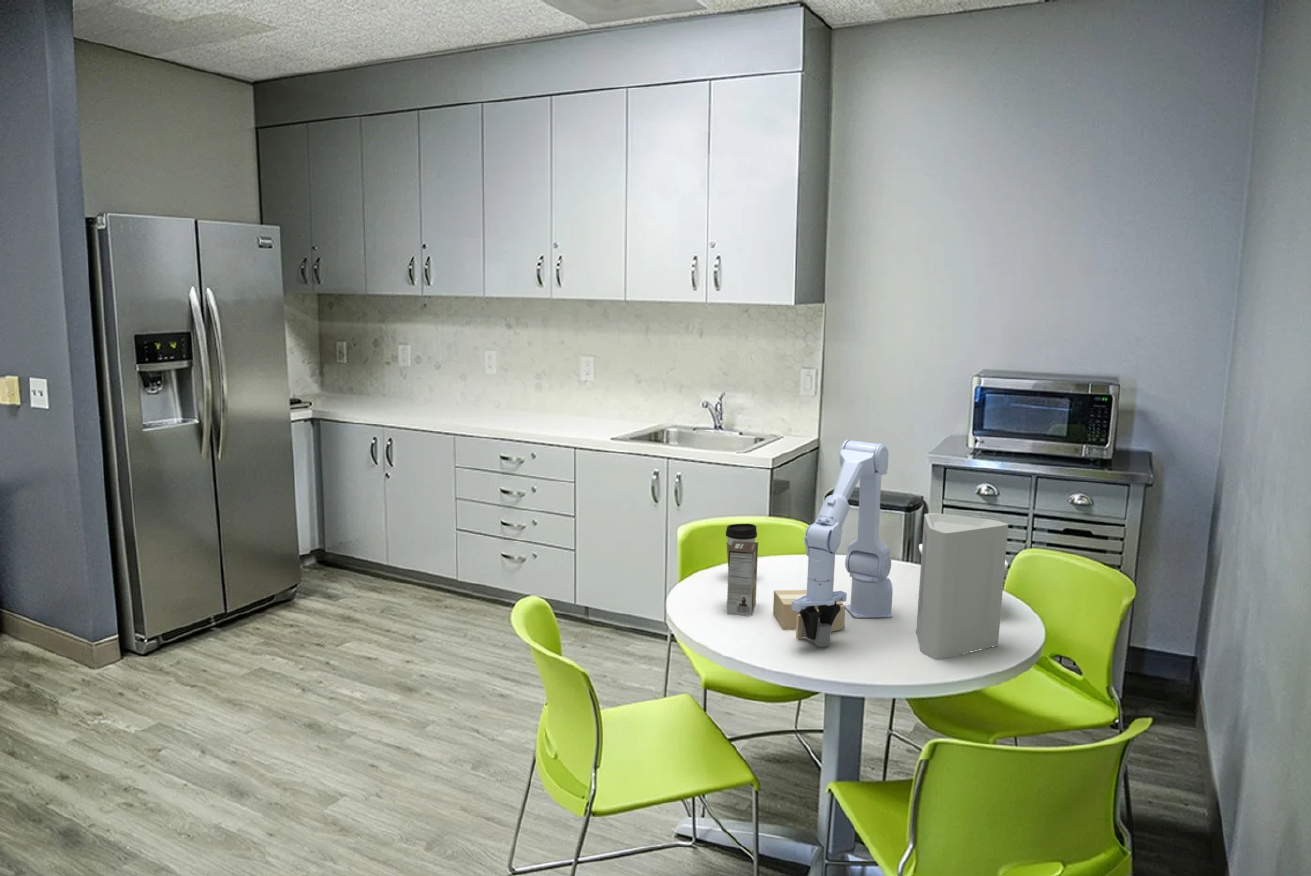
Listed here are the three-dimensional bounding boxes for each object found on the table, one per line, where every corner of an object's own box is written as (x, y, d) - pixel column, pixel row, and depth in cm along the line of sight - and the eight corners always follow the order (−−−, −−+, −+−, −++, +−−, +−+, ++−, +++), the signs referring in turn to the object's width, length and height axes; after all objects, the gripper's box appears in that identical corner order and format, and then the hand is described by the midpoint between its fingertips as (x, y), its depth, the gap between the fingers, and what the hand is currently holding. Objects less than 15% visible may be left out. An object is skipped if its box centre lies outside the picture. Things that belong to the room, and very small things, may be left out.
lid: (842, 627, 216) (843, 604, 215) (864, 637, 210) (866, 614, 209) (795, 638, 209) (796, 614, 208) (817, 649, 202) (818, 625, 201)
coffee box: (730, 601, 233) (732, 539, 230) (756, 604, 232) (758, 541, 229) (726, 614, 224) (728, 549, 221) (752, 616, 223) (755, 552, 220)
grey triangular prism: (950, 624, 220) (959, 509, 216) (999, 645, 208) (1010, 524, 203) (888, 636, 212) (896, 517, 207) (935, 659, 199) (945, 533, 194)
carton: (829, 613, 226) (830, 589, 225) (841, 628, 216) (843, 603, 215) (773, 614, 225) (774, 589, 224) (782, 629, 215) (783, 603, 214)
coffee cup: (756, 584, 247) (758, 530, 244) (724, 584, 247) (726, 529, 244) (753, 575, 255) (755, 522, 253) (723, 574, 255) (724, 521, 253)
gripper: (808, 587, 196) (805, 648, 198) (857, 577, 204) (854, 636, 206) (786, 578, 202) (783, 638, 204) (835, 569, 210) (832, 626, 212)
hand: (817, 636), depth 205 cm, fingers open, 3 cm apart
